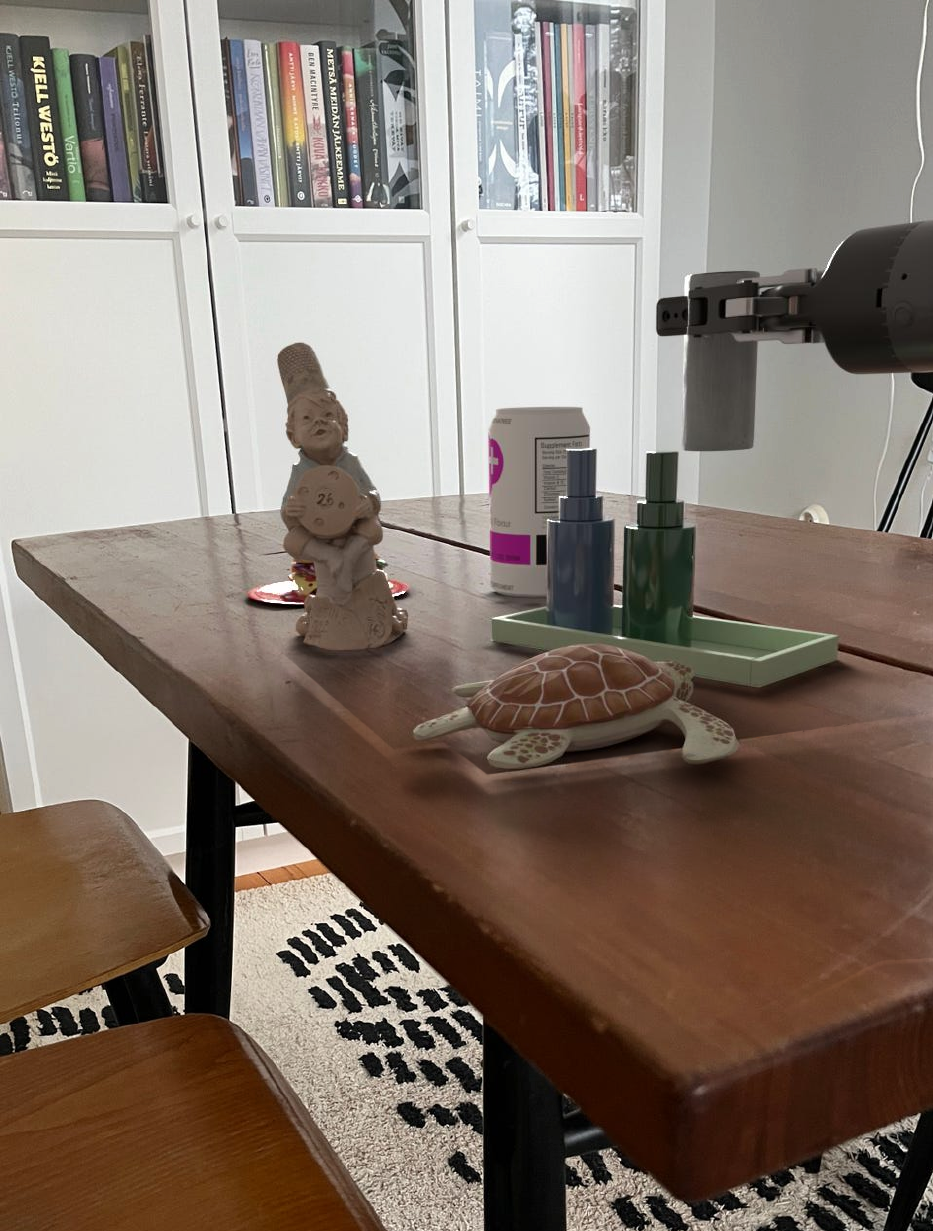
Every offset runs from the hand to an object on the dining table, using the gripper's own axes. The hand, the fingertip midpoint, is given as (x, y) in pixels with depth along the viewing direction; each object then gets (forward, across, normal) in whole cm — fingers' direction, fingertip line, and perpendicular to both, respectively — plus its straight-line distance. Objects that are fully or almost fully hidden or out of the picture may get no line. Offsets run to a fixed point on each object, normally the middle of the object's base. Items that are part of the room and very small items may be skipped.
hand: (688, 317), depth 78 cm
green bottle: (-2, +5, +20) cm, 21 cm away
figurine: (+16, +17, +21) cm, 31 cm away
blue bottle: (+5, +5, +20) cm, 21 cm away
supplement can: (+21, -6, +21) cm, 30 cm away
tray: (-2, +5, +21) cm, 21 cm away
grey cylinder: (-3, 0, +8) cm, 9 cm away
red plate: (+35, +6, +20) cm, 41 cm away
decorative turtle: (-13, +22, +21) cm, 33 cm away
